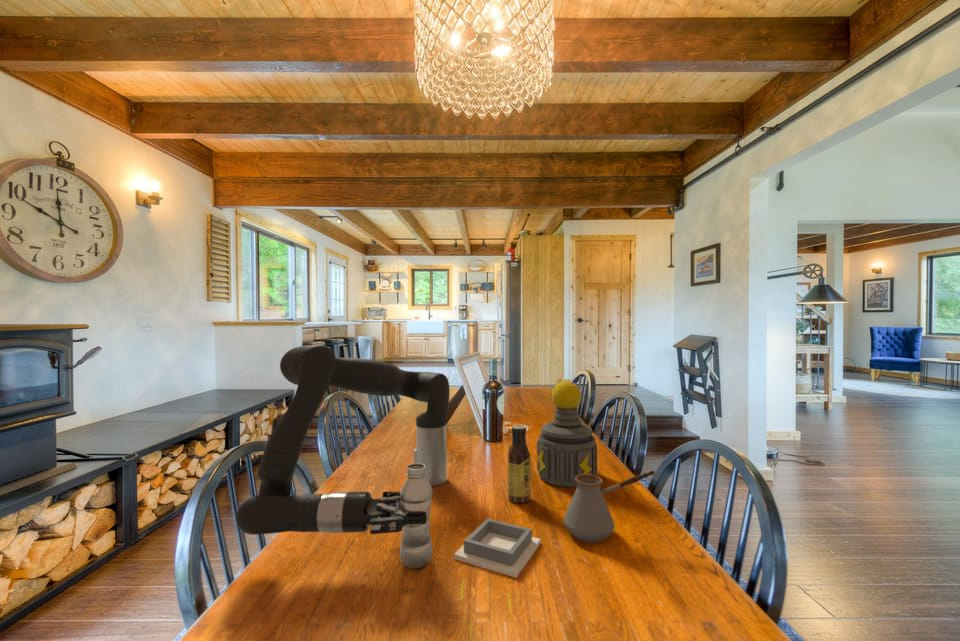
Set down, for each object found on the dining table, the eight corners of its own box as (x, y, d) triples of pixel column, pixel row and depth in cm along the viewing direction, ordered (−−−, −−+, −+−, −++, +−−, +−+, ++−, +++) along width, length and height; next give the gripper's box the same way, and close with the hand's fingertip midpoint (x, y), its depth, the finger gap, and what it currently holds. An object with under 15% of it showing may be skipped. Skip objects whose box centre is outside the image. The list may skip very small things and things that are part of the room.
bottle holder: (454, 559, 89) (454, 542, 89) (484, 528, 101) (484, 514, 101) (516, 577, 82) (516, 559, 82) (540, 543, 95) (540, 527, 95)
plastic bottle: (401, 555, 90) (400, 461, 90) (433, 554, 91) (432, 460, 90) (397, 574, 84) (397, 473, 83) (432, 572, 84) (432, 471, 84)
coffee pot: (567, 546, 93) (567, 478, 93) (560, 521, 105) (560, 460, 105) (667, 549, 92) (667, 480, 92) (649, 523, 104) (649, 462, 103)
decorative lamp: (572, 462, 146) (572, 375, 146) (611, 482, 129) (610, 383, 129) (525, 471, 138) (524, 379, 138) (559, 493, 121) (559, 388, 121)
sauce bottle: (529, 505, 114) (529, 431, 114) (506, 503, 115) (506, 429, 115) (531, 495, 120) (531, 424, 120) (509, 493, 121) (509, 423, 121)
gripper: (334, 509, 79) (424, 507, 80) (353, 479, 94) (430, 478, 94) (334, 549, 79) (425, 547, 80) (354, 513, 94) (430, 511, 94)
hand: (427, 509), depth 87 cm, fingers closed on plastic bottle, 6 cm apart
